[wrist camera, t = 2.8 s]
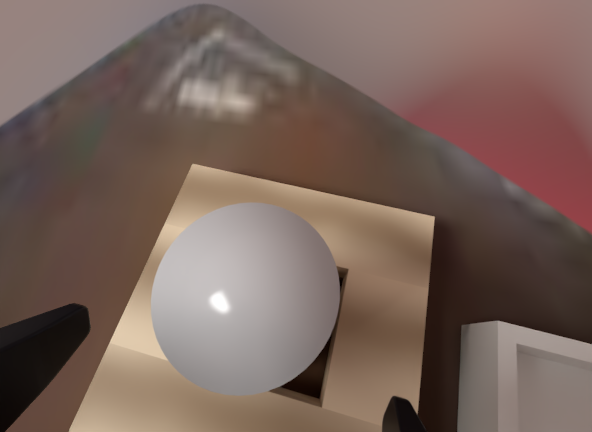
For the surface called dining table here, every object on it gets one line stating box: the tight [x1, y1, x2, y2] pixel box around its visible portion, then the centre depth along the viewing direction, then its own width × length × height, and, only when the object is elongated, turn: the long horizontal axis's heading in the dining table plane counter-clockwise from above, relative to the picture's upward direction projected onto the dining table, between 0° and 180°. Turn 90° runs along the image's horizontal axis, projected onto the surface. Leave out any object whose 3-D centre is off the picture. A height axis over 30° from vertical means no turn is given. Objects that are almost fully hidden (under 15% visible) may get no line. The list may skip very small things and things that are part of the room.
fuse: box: [151, 202, 340, 396], centre depth 13 cm, size 5×5×10 cm
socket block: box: [69, 164, 435, 432], centre depth 16 cm, size 15×15×2 cm
